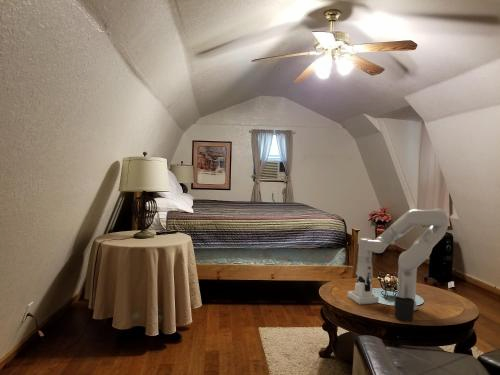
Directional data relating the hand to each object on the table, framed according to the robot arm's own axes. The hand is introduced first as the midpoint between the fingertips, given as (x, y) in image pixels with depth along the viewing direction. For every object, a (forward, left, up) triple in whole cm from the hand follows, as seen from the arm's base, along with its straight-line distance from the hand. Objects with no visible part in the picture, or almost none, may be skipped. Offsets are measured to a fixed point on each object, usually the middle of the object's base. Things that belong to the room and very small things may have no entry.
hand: (363, 288), depth 226 cm
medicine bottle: (0, 0, -5) cm, 5 cm away
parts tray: (0, 0, -7) cm, 7 cm away
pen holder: (-29, -6, -7) cm, 30 cm away
